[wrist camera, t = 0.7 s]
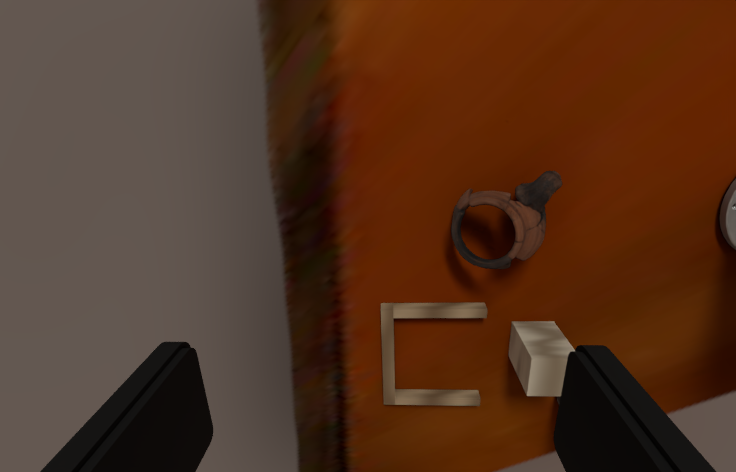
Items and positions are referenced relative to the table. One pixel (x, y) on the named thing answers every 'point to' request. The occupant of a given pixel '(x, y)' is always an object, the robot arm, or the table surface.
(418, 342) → the table surface
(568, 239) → the table surface
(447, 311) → the oak bay
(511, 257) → the broken clay pot rim
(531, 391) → the birch block
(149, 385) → the robot arm
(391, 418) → the table surface
